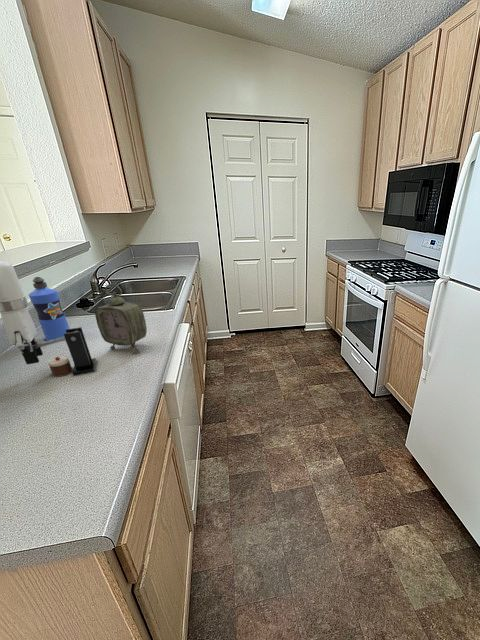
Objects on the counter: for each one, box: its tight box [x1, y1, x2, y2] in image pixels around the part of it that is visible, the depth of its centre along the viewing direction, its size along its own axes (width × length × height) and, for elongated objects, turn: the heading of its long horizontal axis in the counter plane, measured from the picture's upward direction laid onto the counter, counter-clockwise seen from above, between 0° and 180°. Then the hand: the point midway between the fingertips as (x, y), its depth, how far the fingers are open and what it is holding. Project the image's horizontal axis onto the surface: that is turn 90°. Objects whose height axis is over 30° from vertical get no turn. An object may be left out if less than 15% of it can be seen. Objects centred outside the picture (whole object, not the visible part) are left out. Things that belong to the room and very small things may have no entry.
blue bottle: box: [28, 276, 71, 341], centre depth 134 cm, size 9×9×25 cm
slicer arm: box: [26, 330, 78, 349], centre depth 107 cm, size 15×5×2 cm, turn 115°
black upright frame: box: [64, 326, 97, 376], centre depth 111 cm, size 6×9×14 cm, turn 25°
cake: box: [47, 355, 73, 377], centre depth 110 cm, size 6×6×6 cm
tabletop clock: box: [94, 283, 148, 354], centre depth 122 cm, size 14×9×25 cm, turn 74°
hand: (35, 358), depth 106 cm, fingers closed on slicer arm, 5 cm apart
